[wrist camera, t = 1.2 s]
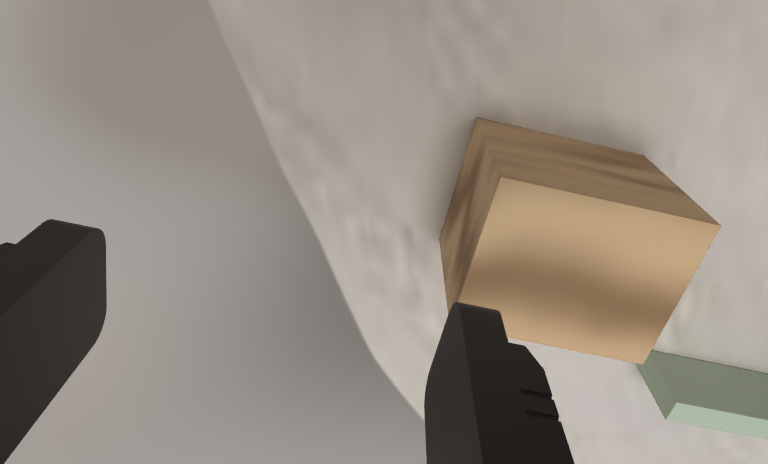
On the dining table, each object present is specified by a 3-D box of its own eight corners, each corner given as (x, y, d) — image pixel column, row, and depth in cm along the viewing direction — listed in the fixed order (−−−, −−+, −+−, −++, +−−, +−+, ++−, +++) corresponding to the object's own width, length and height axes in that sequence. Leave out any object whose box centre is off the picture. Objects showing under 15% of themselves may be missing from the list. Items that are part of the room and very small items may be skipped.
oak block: (476, 117, 32) (500, 176, 24) (643, 155, 33) (721, 226, 25) (439, 238, 36) (449, 325, 28) (590, 270, 36) (643, 364, 28)
